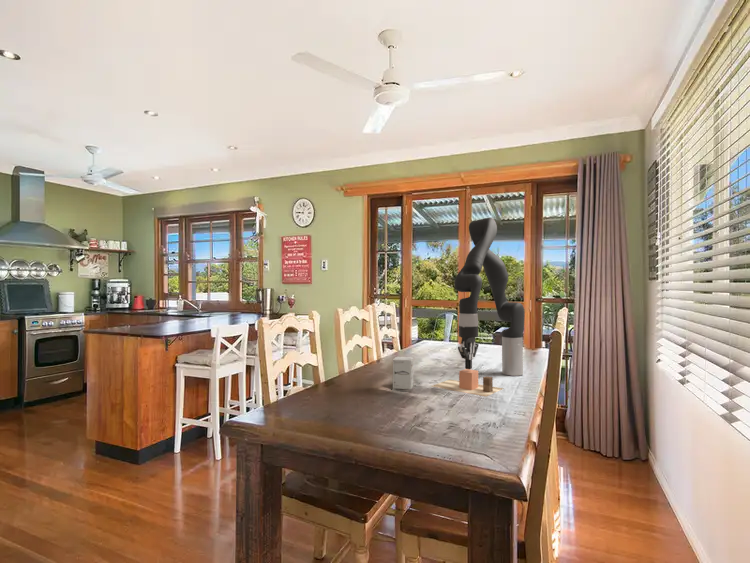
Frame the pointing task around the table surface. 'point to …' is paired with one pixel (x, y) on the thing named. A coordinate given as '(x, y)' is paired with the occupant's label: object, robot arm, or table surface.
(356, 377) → the table surface
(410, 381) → the supplement box
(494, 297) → the robot arm
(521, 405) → the table surface
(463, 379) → the salmon orange block
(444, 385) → the board
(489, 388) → the walnut post
